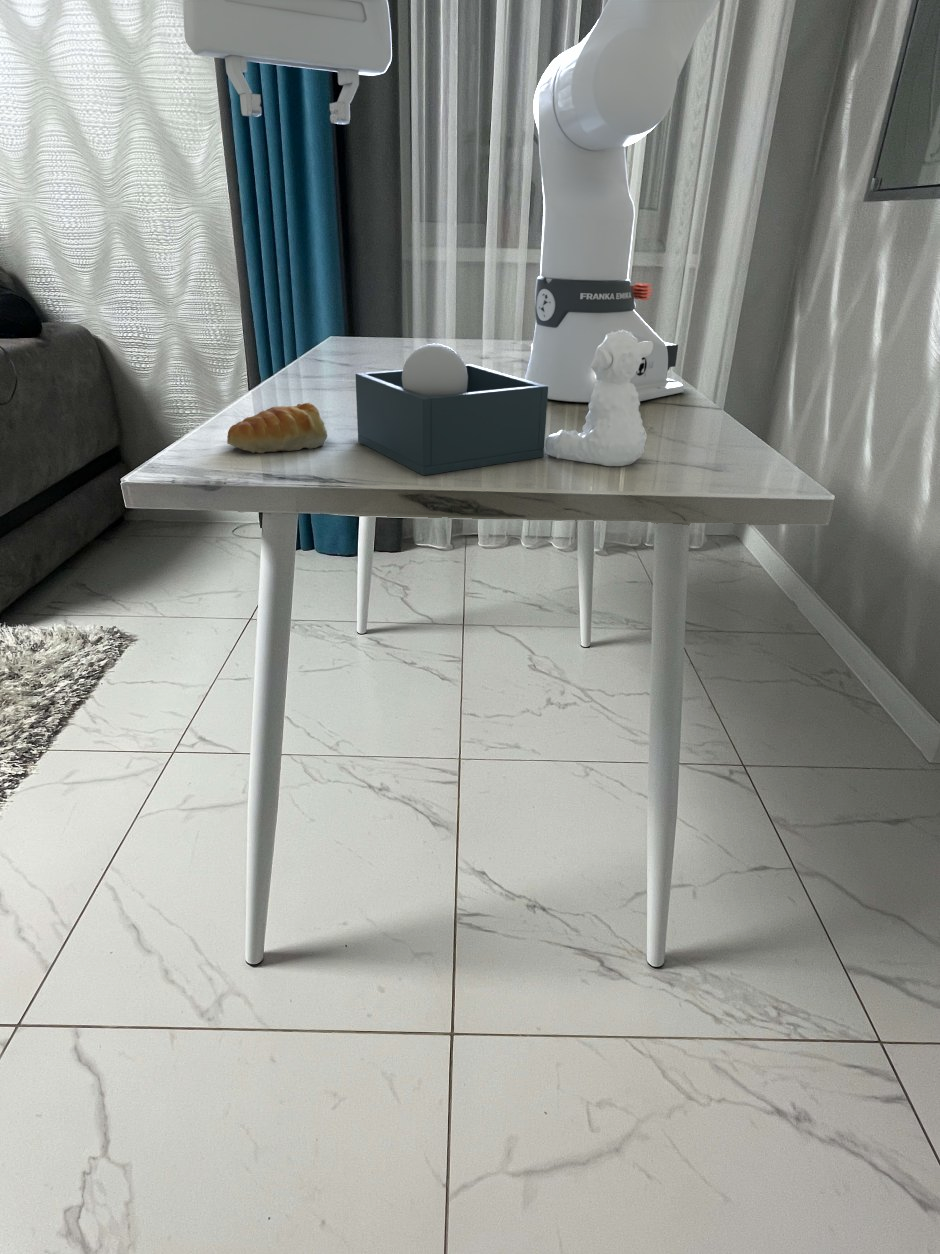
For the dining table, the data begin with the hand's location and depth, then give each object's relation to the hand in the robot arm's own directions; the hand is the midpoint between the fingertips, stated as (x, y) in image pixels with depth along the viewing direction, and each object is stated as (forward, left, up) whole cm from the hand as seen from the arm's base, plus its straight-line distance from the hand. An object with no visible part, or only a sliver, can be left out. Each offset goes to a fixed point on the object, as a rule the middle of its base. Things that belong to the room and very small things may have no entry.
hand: (297, 119), depth 82 cm
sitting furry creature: (-17, +32, -29) cm, 47 cm away
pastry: (+9, +13, -29) cm, 33 cm away
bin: (-5, +22, -29) cm, 37 cm away
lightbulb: (-7, +22, -28) cm, 36 cm away
